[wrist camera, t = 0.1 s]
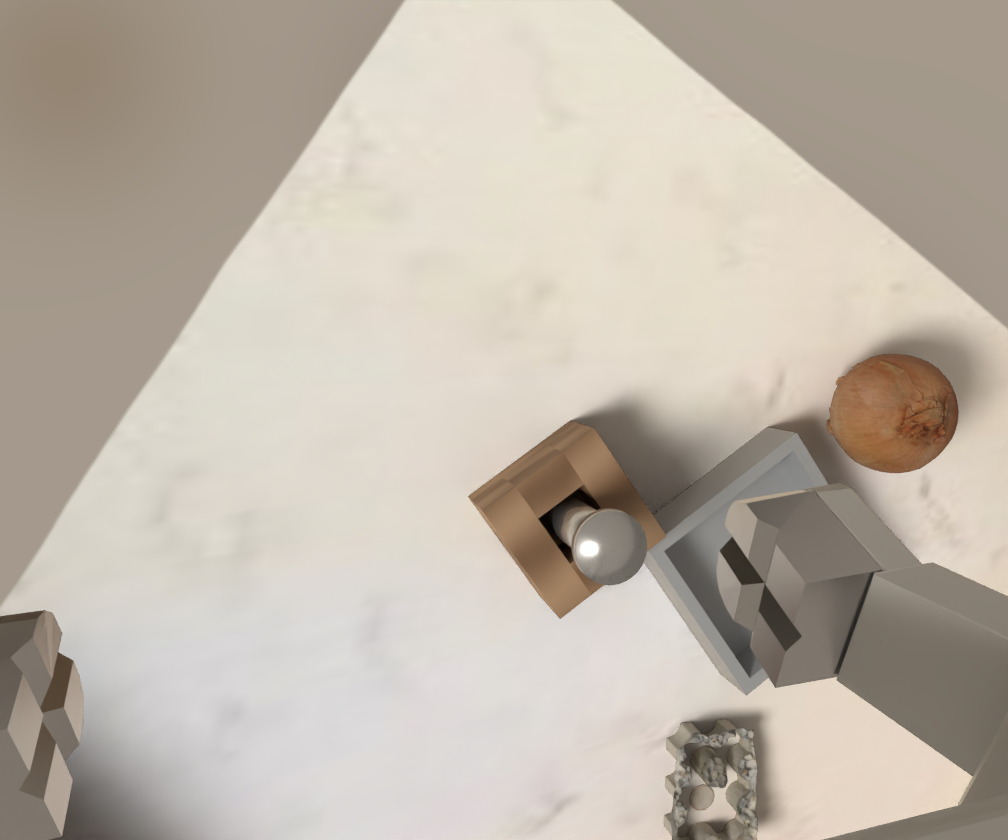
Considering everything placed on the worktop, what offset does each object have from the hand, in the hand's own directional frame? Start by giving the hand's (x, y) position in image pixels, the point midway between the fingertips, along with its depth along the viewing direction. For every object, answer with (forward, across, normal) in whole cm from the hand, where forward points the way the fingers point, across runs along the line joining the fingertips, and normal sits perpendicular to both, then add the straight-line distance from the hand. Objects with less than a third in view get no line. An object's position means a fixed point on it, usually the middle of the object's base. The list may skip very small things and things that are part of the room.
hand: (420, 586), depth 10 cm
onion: (+44, +43, -32) cm, 70 cm away
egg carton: (+30, +26, -59) cm, 71 cm away
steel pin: (+41, +16, -36) cm, 56 cm away
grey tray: (+39, +32, -42) cm, 65 cm away
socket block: (+42, +16, -36) cm, 58 cm away
